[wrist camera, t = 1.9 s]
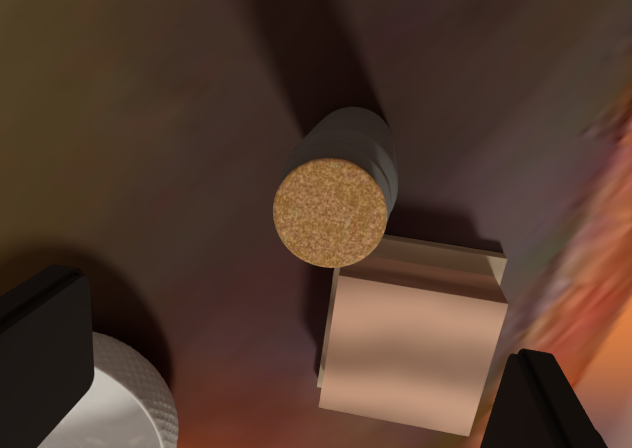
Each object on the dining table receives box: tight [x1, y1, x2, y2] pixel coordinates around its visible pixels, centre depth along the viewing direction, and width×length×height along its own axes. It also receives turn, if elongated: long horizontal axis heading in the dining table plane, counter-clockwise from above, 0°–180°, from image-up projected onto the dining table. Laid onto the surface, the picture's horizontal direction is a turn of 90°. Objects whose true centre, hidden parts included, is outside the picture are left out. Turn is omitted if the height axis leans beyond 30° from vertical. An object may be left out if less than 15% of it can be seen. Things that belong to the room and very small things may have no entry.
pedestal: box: [317, 234, 508, 436], centre depth 35 cm, size 14×12×5 cm
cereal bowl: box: [37, 332, 179, 448], centre depth 40 cm, size 17×17×7 cm
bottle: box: [273, 107, 398, 268], centre depth 26 cm, size 6×6×15 cm
